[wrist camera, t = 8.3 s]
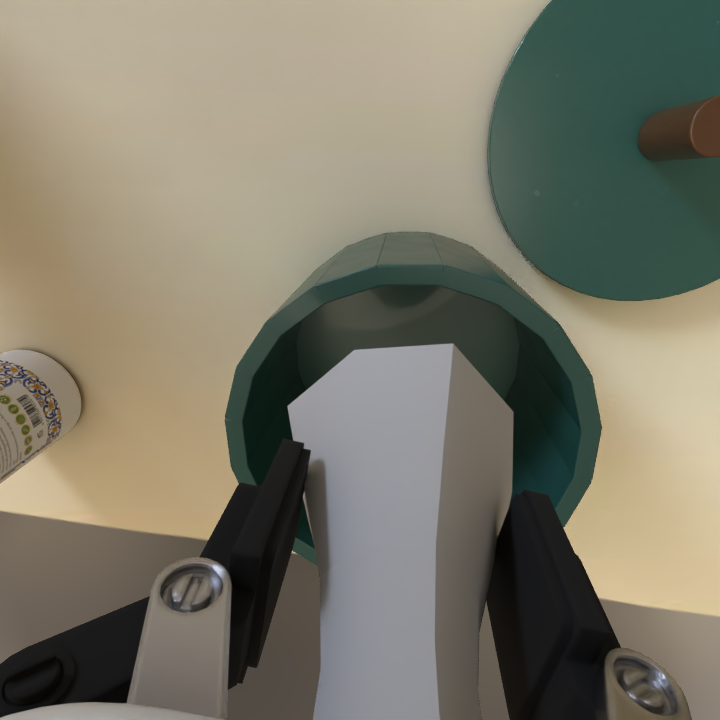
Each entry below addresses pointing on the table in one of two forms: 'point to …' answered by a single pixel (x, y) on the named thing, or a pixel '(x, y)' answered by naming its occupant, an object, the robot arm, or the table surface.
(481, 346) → the tin
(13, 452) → the bath foam
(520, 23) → the table surface
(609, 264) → the tin lid
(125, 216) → the table surface
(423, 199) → the table surface
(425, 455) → the flask
